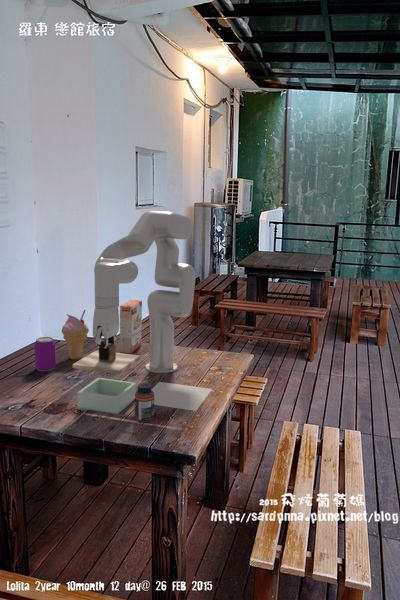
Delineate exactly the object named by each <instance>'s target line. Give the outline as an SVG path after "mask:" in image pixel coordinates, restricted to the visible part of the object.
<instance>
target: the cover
mask: <svg viewBox="0 0 400 600" xmlns="http://www.w3.org/2000/svg"><path fill="white" fill-rule="evenodd" d="M107 348H109V360H101V359H99V349H97V350H95V351H93V352H91V353H89V354H87V355H86V356H84V357H82V358H80V359H78V361H76V362H74V363H73V364H72V369H77V370H78V369H79V370H86V371H93V372H100V373H108V374H112V375H113V374H115V375H121V374H122V373H124V372H125V371H126V370H128V369H130V367H132V366H133V365H134V364H135V363H137V362H138V361H139V360H141V355H137V354H132V353H122V352H117V349H116V348H117V343H114V344H112V343H108V347H107Z"/></svg>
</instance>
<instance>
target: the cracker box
mask: <svg viewBox="0 0 400 600" xmlns="http://www.w3.org/2000/svg"><path fill="white" fill-rule="evenodd" d="M142 312H143V300H138V299H130V300H128V301H126V302H124V303H123V304H121V305H119V353H123V354H132V353H134V352H135V351H136V350H137V349H138V348H139V347H140V346H141V345H142V324H143V323H142V318H143V313H142Z"/></svg>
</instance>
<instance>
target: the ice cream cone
mask: <svg viewBox="0 0 400 600" xmlns="http://www.w3.org/2000/svg"><path fill="white" fill-rule="evenodd" d="M85 313H86V309H84V310H83V311H82V315H81V317H80V319H79V318H78V317H76V316H75V315H74V316H73V315H71V314H68V313H67V314H66V316H67V317H68V318H67V319H66V321H65V323H64V325H63V326H62V328H61V333H62V335H63V339H64V341H65V342H66V344H67V350H68V351H67V352H68V356H69V358H70V359H71V360H81V359H82V358H83V353H84V344H85V340H86V339H87V338H88V333H89V332H90V329H89V327H88V326H87V324H86V323H85V320H84V319H83V318H84V317H85Z"/></svg>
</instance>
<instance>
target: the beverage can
mask: <svg viewBox="0 0 400 600" xmlns="http://www.w3.org/2000/svg"><path fill="white" fill-rule="evenodd" d="M35 340H36V341H35V343H34V368H35V369H36V370H37V371H39V372H51V371H53V370H54V369H55V368H56V366H57V362H56V361H57V360H56V358H57V357H56V354H57V353H56V343H55V340H54V337H50V336H41V337H37V338H36V339H35Z"/></svg>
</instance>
